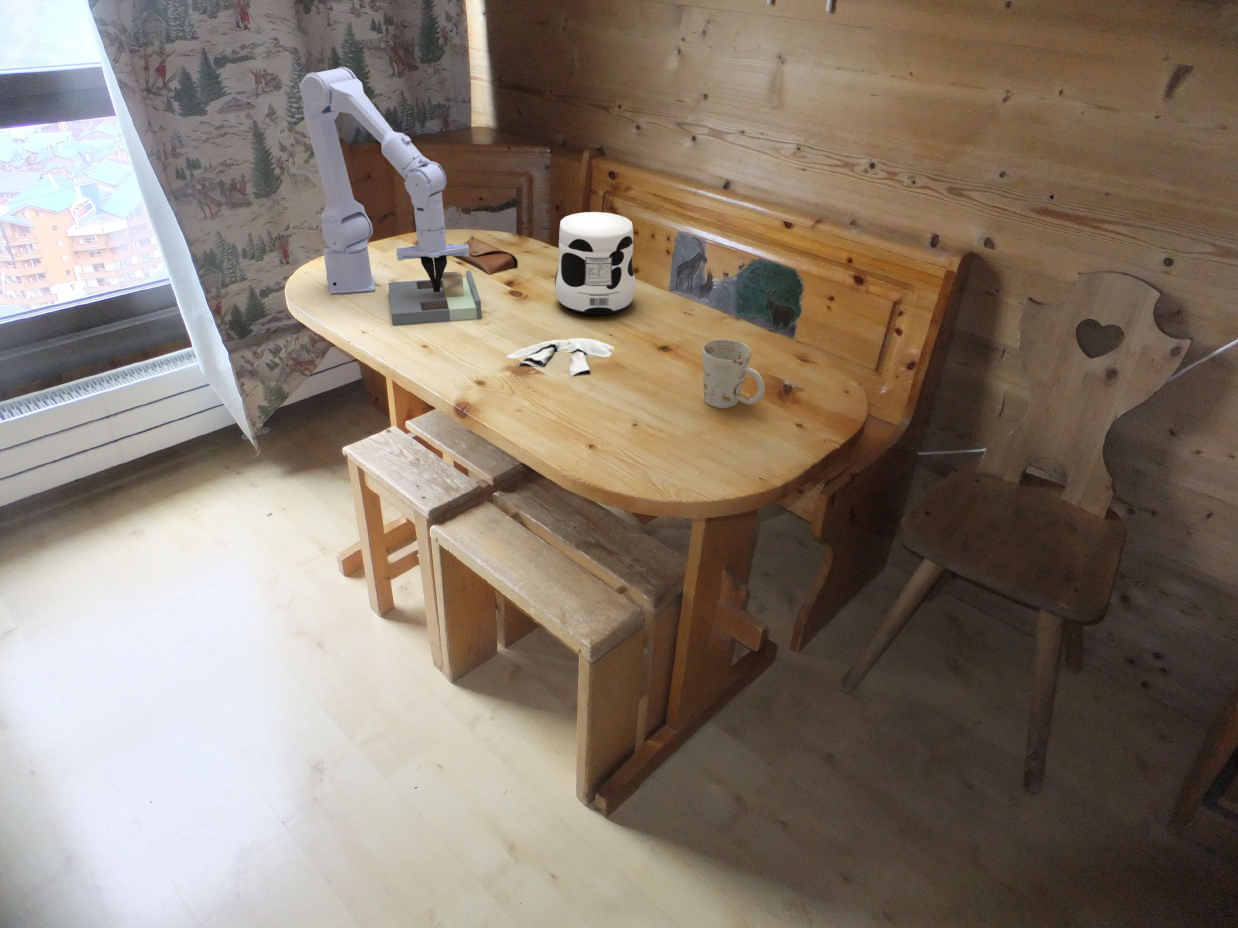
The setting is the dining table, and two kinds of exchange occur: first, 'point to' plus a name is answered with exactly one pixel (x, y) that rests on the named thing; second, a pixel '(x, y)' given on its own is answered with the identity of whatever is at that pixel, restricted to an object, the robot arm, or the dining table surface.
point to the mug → (727, 373)
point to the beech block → (452, 284)
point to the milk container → (595, 263)
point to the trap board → (432, 302)
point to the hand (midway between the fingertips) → (436, 290)
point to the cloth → (577, 345)
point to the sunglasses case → (488, 257)
